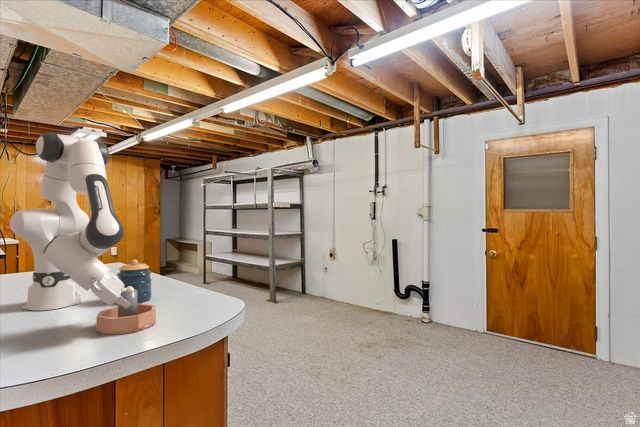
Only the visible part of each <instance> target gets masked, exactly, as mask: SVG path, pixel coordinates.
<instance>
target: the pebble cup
mask: <svg viewBox="0 0 640 427" xmlns="http://www.w3.org/2000/svg"><path fill="white" fill-rule="evenodd" d="M121 291H122V292H121V296H122V297H123V298H124V299H125V300H127V301H129V302H130V303H131V305H130V306H129V307H128V308H125V307H123V306H122V305H119V304H117V306H118V317H126V316H134V315H137V304H138V303H137V290H135V289H134V288H133V287H132V286H128V287H127V288H121Z"/></svg>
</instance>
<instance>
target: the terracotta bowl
mask: <svg viewBox="0 0 640 427" xmlns="http://www.w3.org/2000/svg"><path fill="white" fill-rule="evenodd" d="M156 306H157V305H156V304H149V303H137V315H134V316H126V317H118V305H116V306H113V307H110V308H107V309H103V310H99V312H98V313H97V316H96V329H95V330H96V331H97V332H98V333H99V334H102V335H106V336H107V335H108V336H116V335H127V334H128V335H129V334H133V333H139V332H141V331H145V330H147V329H150V328H152V327H153V326H154V325H155V324H156V323H157V320H156V319H157V318H156V317H157V309H156V308H157V307H156Z"/></svg>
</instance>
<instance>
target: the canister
mask: <svg viewBox="0 0 640 427" xmlns="http://www.w3.org/2000/svg"><path fill="white" fill-rule="evenodd" d="M149 268H150V266H149V265H148V264H146V263H139V261H138V260H137V259H132V260H131V261H130V263H128V264H127V263H126V264H124V265H122V266H121V267H119V268H118V270H119V272H118V273H117V274H116V276H117V277H118V278H119V279H120V280H121V281H122V282H123V284H124V285H125V286H124V288H127V287H128V286H132V287H133V288H134V289H135V290H137V304H143V303H145V302H148V301H150V300H152V299H151V298H152V280H153V279H152V278H151V274H152V271H151V270H149Z"/></svg>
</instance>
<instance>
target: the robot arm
mask: <svg viewBox="0 0 640 427" xmlns="http://www.w3.org/2000/svg"><path fill="white" fill-rule="evenodd" d="M35 150H36V154H37V156H38V158H39V159H41V160H43V161H45V166H44V170H43V175H42V178H41V179H42V180H41V185H40V186H41V187H40V193H41V195H42V197H43V198H44V199H46V200H48V201H50V202H51V203H54V208H29V209H28V208H27V209H23V210H22V209H21V210H17V211H16V212H14V213H13V214H12V216H11V218H10V221H9V226H10V229H11V231H12V232H13V233H14V234H15V235H16V236H17V237H20V238H21V239H23V240H24V241H25V242H26V243H27V244H28V245H29V247H30V248H31V251H32V253H33V261H34V262H33V264H34V272H33V273H32V284H31V285H30V286H28V288H27V297H26V298H27V300H26V304H24V305H22V306H21V309H22V310H28V311H29V310H30V311H35V312H36V311H39V312H40V311H49V310H58V309H62V308H67V307H70V306H74V305H79V304H82V299H81V295H80V294H78V291H77V290H76V289H75V287H76V286H75V283H76V284H77V285H78V286H79V287H81V288H82V289H84V290H85V291H87V292H88V291H89V290H90V291H91V292H92V293H93V294H94V295H95V296H97V298H99V299H100V301H102V302H103V303H104V304H107V305H108V306H112V305H113V304H117V305H118V304H119V305H122V306H123V307H125V308H128V307H129V306H130V305H131V303H130V302H129V301H127V300H125V299H124V298H123V297H122V296H121V292H122V291H121V288H124V286H125V285H124V284H123V282H122V281H121V280H120V279H119V278H118V276H117V275H115V273H114V272H112V271H111V268H110V267H109V266H107V265H106V264H105V263H103V261H101V260H100V259H98V257H100V256H102V255H104V254H106V253H107V252H108V251H109V250H110V249H111V248H113V247H114V246H115V245H117V244H119V243H120V242H121V241H122V239H123V237H124V234H125V228H124V226H123V223H122V222H121V220H120V219H119V216H117V214H116V211H115V207H114V204H113V199H112V193H111V191H110V186H109V183H108V181H107V180H108V178H107V170H106V165H107V164H108V161H109V157H110V152H109V151H110V150H109V148H108V146H107V144H105V143H103V142H100V141H98V140H91V139H88V138H85V137H83V136H82V137H80V136H74V135H67V134H59V133H56V132H43V133H42V134H40V135H39V137H38V138H37V140H36V143H35ZM77 193H78V194H81V195H86V196H87V199H88V200H87V201H88V208H89V211H90V217H89V216H88V214H87V213H86V212H85V211H84V210H82V208H80V206H79V203H78V200H77ZM75 290H76V291H75Z"/></svg>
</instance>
